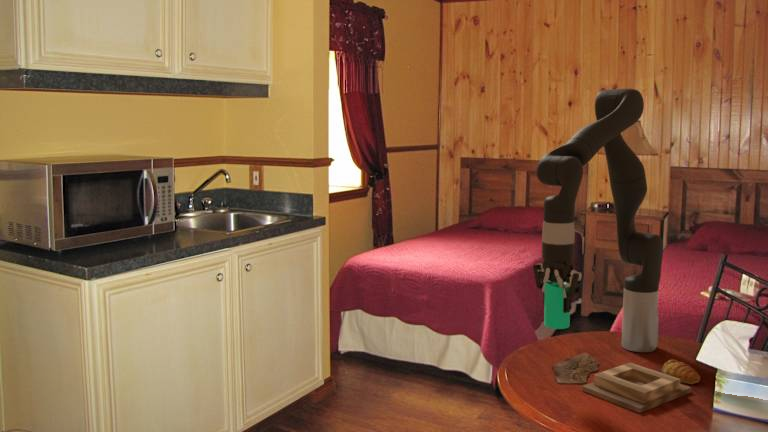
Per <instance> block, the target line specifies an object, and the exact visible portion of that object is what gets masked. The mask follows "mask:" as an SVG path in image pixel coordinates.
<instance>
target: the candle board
mask: <svg viewBox="0 0 768 432" xmlns="http://www.w3.org/2000/svg"><path fill="white" fill-rule="evenodd" d="M581 392H585V393H586V394H590V395H593V396H594V397H597V398H600V399H602V400H604V401H607V402H610V403H612V404H616V405H618V406H620V407H623V408H625V409H628V410H630V411H632V412H635V413H637V414H641V413H644V412H647V411H648V410H651V409H654V408H656V407H658V406H661V405H664V404H666V403H669V402H670V401H673V400H675V399H677V398H681V397H683V396H685V395H688V394H690V393H692V387H690V386H688V385H686V384H682V383H681V382H680V379H679V378H676V377H673V376H669V375H666V374H664V373H663V372H660V371H657V370H654V369H650V368H648V367H645V366H642V365H639V364H635V363H632V362H628V363H624V364H621V365H618V366H616V367H612V368H609V369H606V370H604V371H602V372H597V373H595V374H593V381H592V382H590V383H586V384H583V385H582V386H581Z"/></svg>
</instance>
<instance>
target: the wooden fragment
mask: <svg viewBox="0 0 768 432" xmlns="http://www.w3.org/2000/svg"><path fill="white" fill-rule="evenodd" d="M600 365H601V363H600V362H598V360H596V358H594V357H593V356H591V355H590V354H589V353H587V352H584V353H581V354H578V355H575V356H573V357H570V358H566V359H564V360H562V361H560V362H558V363H555V364H553V366H551V367H552V369H553V372H554V376H555V378H556V381H557V384H558V385H571V386H572V385H582V384H583V385H587V382H588V381H587V380H588V377H590V374H591V373H595V372H597V371H598V370H600V369H599V366H600Z"/></svg>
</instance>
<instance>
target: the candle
mask: <svg viewBox="0 0 768 432" xmlns="http://www.w3.org/2000/svg"><path fill="white" fill-rule="evenodd" d="M564 284H566V282H564ZM566 290H567V292H569V287H566ZM563 298H564V297H563V288H561V287H559V286H558V283H557V282H555V283H551V284H547V283H546V282H545V298H543V299H544V303H543V307H544V310H543V313H544V315H543V325H544V326H545V327H546V328H548V329H555V330H564V329H568V328H569V327H570V326H571V325H570V322H571V321H570V320H571V311H570V312H567V313H564V312H563Z"/></svg>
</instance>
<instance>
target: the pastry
mask: <svg viewBox="0 0 768 432" xmlns="http://www.w3.org/2000/svg"><path fill="white" fill-rule="evenodd" d="M661 373H663V374H666V375H669V376H673V377H676V378H679V379H680V383H681V384H682V383H683V384H689V385H694V384H696V383H699V382H700V380H701V376H700V375H699V372H698V371H696V370H695V368H693V367H691V365H690V364H687V363H685V362H683V361H678V360H677V359H668V360H667V362H664V364H663V366H662V367H661Z"/></svg>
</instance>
